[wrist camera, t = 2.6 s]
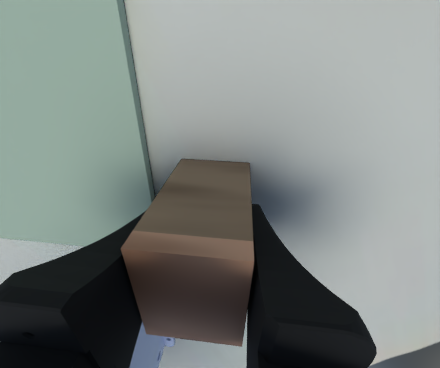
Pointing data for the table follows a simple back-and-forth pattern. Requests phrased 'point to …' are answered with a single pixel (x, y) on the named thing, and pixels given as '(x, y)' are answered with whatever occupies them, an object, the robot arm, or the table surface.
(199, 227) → the walnut block
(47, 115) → the sage mat
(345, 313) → the robot arm
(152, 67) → the table surface
